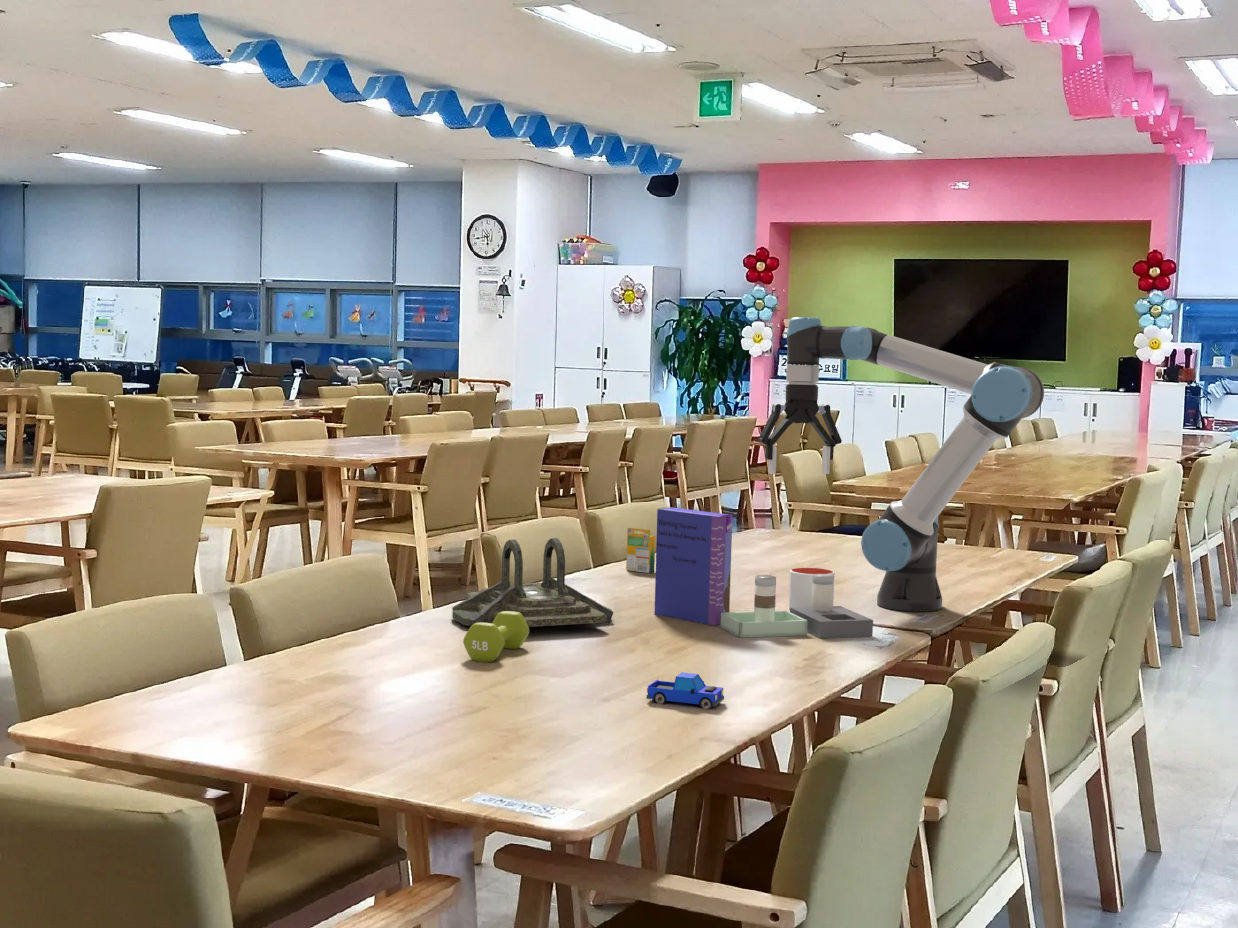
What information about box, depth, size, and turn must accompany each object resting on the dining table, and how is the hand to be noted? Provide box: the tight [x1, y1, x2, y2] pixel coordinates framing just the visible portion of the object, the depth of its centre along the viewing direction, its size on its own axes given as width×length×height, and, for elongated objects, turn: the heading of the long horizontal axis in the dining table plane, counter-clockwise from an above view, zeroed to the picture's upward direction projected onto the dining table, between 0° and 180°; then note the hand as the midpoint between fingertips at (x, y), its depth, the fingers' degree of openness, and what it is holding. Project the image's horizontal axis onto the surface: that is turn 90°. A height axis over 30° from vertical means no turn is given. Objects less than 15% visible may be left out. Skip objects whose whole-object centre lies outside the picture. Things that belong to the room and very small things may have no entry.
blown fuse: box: [753, 574, 777, 622], centre depth 292 cm, size 4×4×11 cm
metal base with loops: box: [451, 537, 614, 628], centre depth 298 cm, size 35×34×18 cm
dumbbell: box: [462, 611, 530, 663], centre depth 265 cm, size 16×8×7 cm, turn 161°
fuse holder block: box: [789, 574, 874, 639], centre depth 296 cm, size 12×16×11 cm
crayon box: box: [625, 527, 656, 574], centre depth 368 cm, size 7×3×12 cm, turn 58°
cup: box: [788, 567, 835, 611], centre depth 313 cm, size 10×10×10 cm
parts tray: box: [720, 610, 808, 638], centre depth 293 cm, size 15×11×3 cm
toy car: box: [646, 672, 725, 710], centre depth 231 cm, size 7×12×5 cm, turn 70°
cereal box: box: [654, 506, 733, 627], centre depth 303 cm, size 17×5×24 cm, turn 47°
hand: (798, 474), depth 325 cm, fingers open, 13 cm apart
